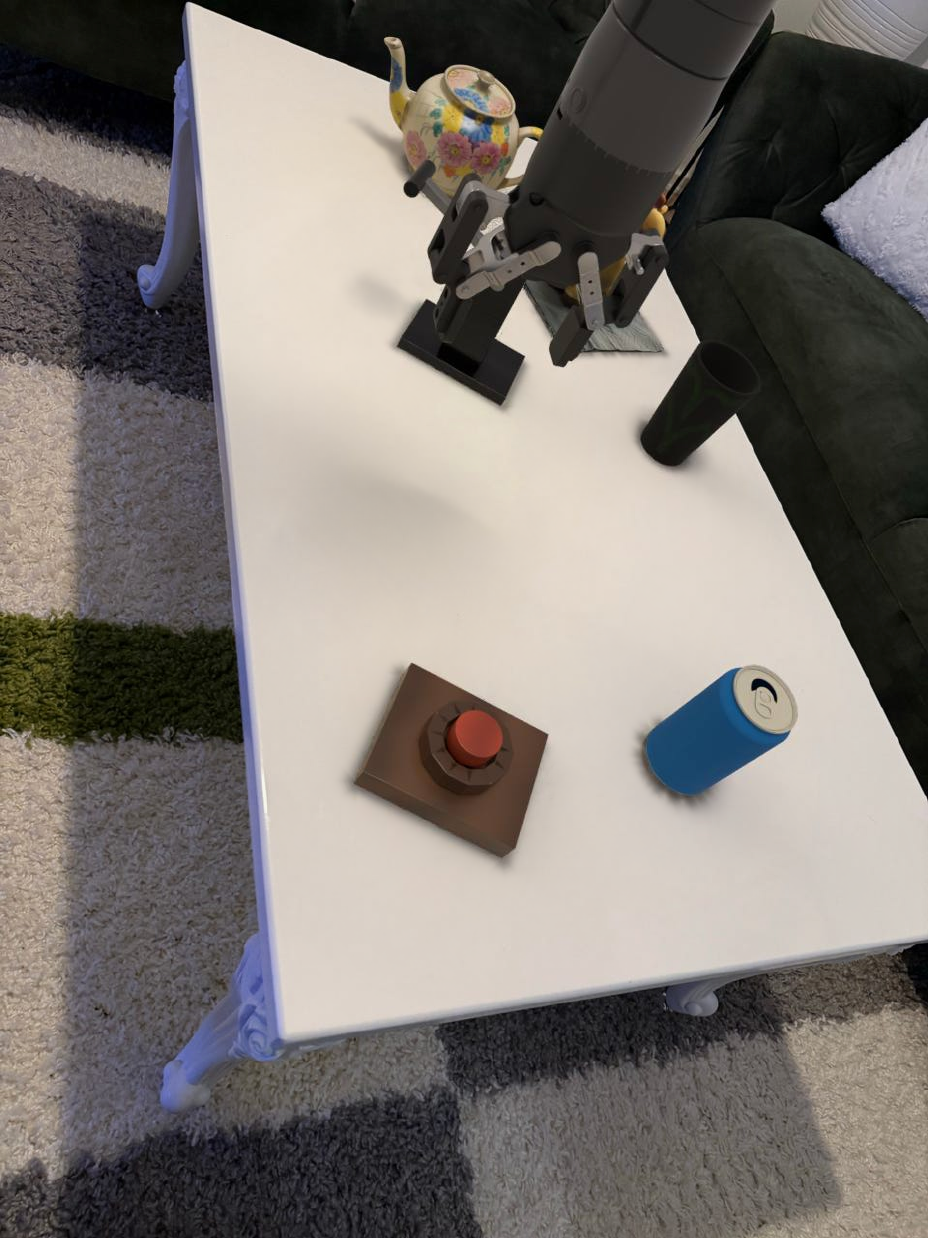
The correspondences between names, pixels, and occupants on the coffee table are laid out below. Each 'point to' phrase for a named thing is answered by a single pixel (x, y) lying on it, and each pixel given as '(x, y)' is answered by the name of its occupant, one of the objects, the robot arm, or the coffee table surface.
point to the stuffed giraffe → (561, 301)
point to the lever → (435, 194)
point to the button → (474, 738)
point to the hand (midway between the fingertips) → (500, 346)
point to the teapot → (457, 123)
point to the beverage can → (722, 729)
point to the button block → (452, 763)
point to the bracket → (471, 342)
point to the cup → (700, 401)
